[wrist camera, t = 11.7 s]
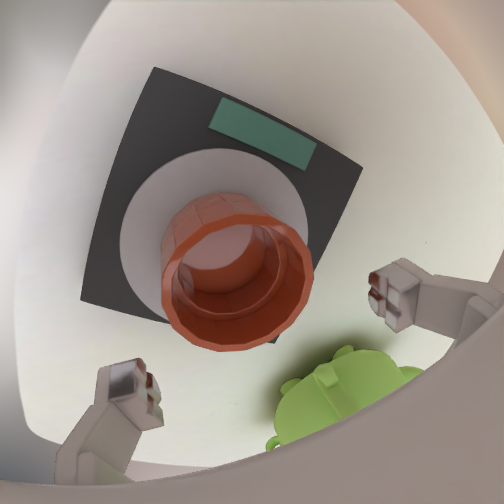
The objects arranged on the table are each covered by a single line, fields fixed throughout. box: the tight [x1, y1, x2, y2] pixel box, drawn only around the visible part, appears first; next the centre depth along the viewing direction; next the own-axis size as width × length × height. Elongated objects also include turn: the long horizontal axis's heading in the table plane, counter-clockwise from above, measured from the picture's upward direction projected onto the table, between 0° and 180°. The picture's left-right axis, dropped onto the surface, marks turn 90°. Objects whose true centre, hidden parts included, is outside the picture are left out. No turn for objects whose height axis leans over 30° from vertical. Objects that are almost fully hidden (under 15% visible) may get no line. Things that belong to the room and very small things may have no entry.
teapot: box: [266, 345, 424, 451], centre depth 23 cm, size 16×14×13 cm
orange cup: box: [160, 192, 314, 352], centre depth 14 cm, size 7×7×5 cm
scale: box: [80, 67, 363, 344], centre depth 17 cm, size 14×14×3 cm
